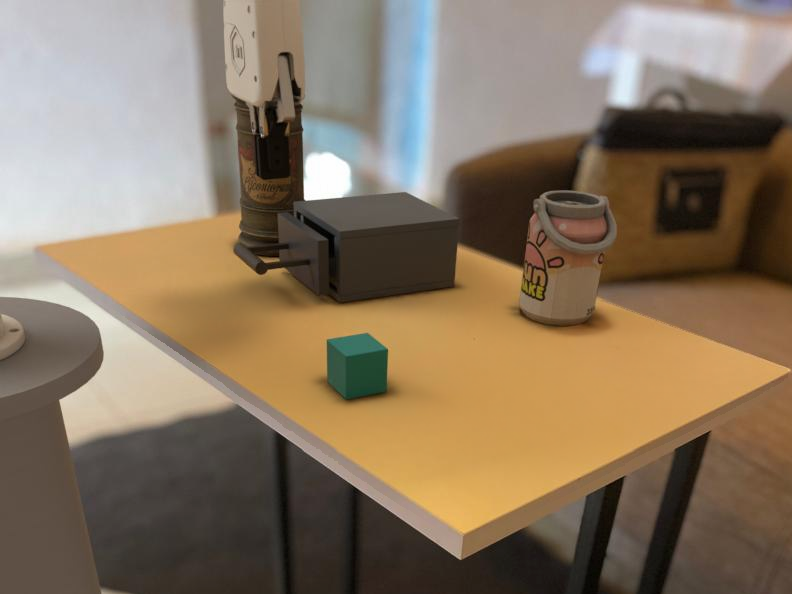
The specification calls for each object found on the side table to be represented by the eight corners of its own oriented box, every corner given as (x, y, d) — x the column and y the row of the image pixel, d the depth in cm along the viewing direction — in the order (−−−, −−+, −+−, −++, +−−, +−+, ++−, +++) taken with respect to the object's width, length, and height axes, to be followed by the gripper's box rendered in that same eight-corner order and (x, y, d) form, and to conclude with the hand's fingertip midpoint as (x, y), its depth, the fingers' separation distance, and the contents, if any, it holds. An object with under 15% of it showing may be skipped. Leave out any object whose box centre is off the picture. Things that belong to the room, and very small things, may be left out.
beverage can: (613, 328, 88) (636, 209, 81) (542, 335, 86) (559, 213, 79) (571, 298, 95) (589, 186, 88) (504, 303, 93) (517, 189, 86)
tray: (264, 303, 87) (261, 247, 84) (228, 270, 95) (224, 217, 92) (427, 280, 95) (430, 228, 92) (382, 252, 103) (383, 203, 100)
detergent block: (345, 400, 72) (345, 356, 70) (326, 381, 75) (326, 338, 72) (387, 391, 74) (388, 348, 71) (366, 374, 76) (367, 332, 74)
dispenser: (339, 303, 91) (339, 231, 86) (295, 268, 100) (293, 201, 95) (454, 286, 97) (459, 218, 92) (403, 255, 106) (405, 191, 101)
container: (243, 234, 110) (232, 79, 99) (311, 237, 110) (308, 83, 100) (234, 255, 103) (222, 90, 92) (308, 258, 103) (304, 94, 93)
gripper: (195, -43, 80) (215, 164, 90) (249, -35, 69) (264, 198, 80) (269, -41, 83) (280, 159, 93) (332, -34, 72) (336, 191, 83)
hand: (273, 176), depth 87 cm, fingers closed
